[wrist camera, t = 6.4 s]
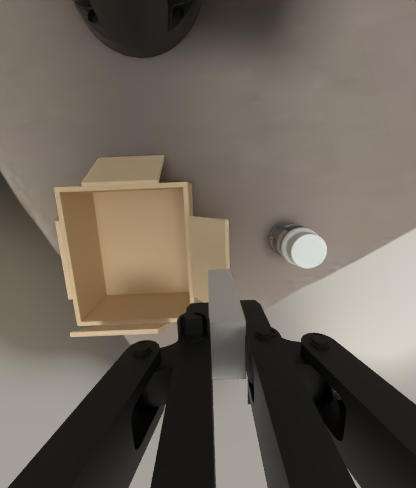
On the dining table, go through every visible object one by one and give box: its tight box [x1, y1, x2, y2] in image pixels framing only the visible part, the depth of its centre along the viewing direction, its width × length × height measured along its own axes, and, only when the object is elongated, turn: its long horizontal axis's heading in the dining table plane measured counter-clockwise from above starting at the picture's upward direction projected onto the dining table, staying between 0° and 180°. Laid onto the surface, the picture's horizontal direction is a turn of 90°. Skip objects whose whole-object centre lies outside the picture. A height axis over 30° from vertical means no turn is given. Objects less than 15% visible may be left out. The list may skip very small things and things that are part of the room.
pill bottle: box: [269, 222, 327, 269], centre depth 30 cm, size 5×5×8 cm
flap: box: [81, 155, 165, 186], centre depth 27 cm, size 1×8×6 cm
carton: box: [54, 182, 197, 326], centre depth 31 cm, size 16×14×8 cm
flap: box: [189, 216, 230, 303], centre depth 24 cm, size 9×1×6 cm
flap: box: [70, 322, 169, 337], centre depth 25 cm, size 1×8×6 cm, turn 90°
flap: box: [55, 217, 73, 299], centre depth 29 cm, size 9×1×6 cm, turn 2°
